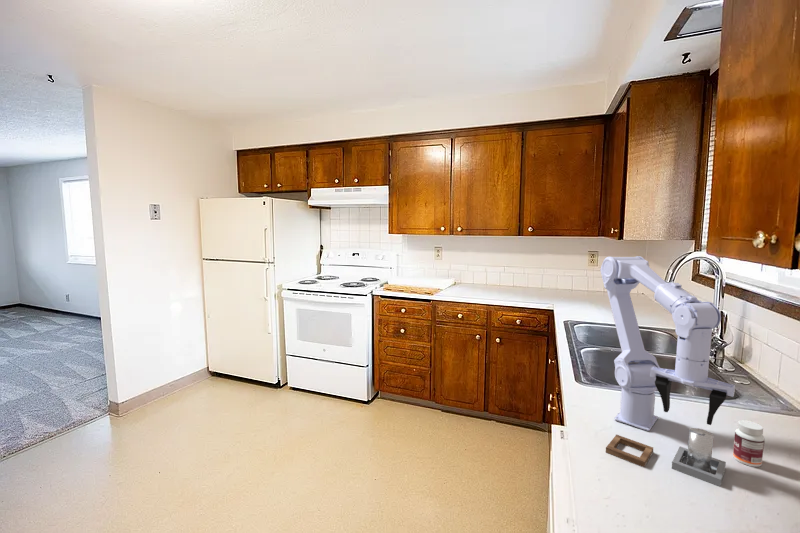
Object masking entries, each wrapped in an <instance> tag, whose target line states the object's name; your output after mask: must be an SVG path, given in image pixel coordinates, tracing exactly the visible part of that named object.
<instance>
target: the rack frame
mask: <svg viewBox="0 0 800 533" xmlns="http://www.w3.org/2000/svg"><path fill="white" fill-rule="evenodd" d="M687 453H688V448H686V447H682V446H679V447H678V449H677V451H676V454H675V455H674V458H673V459H672V462H671V469H672V470H675V471H677V472H679V473H683V474H686V475H688V476H691V477H693V478H695V479H699V480H702V481H704V482H707V483H710V484H712V485H715V486H717V487H721V485H722V482H723V479H724V475H725V471H726V465H727V464H726V463H727V462H726V461H724V460H721V459H718V458H716V457H712V460H711V467H713V468H715V469H716V472H715V474H713V473H711V472H710V473H708V472H706V471H703V470H700V469H697V468H695V467H692V466H689V465H687V463H683V462H682V461H683V459H684V457H685V458H687Z"/></svg>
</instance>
